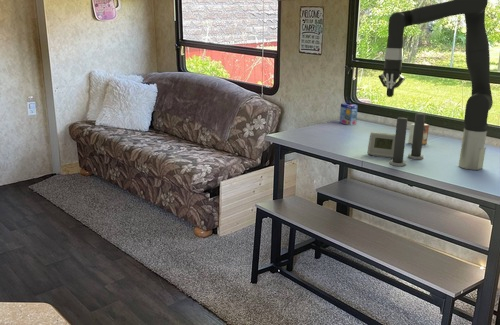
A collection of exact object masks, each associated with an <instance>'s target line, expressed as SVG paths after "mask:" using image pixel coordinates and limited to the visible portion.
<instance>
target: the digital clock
mask: <svg viewBox="0 0 500 325" xmlns="http://www.w3.org/2000/svg"><path fill="white" fill-rule="evenodd" d="M395 135H396V134H391V133H384V132H375V131H374V132H370V134H369V138H368V145H367V155H371V156H374V157H380V158H381V157H382V158H388V159H393V154H394V144H395Z"/></svg>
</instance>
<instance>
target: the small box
mask: <svg viewBox="0 0 500 325" xmlns="http://www.w3.org/2000/svg"><path fill="white" fill-rule="evenodd" d="M414 124H415V123H410V125H409V135H408V140H407V142H408V144H411V145H412V142H413V133H414ZM429 130H430V124H427V123H424V132H423V141H422V145H428V137H429V136H428V135H429Z"/></svg>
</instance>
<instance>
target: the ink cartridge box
mask: <svg viewBox="0 0 500 325" xmlns="http://www.w3.org/2000/svg"><path fill="white" fill-rule="evenodd" d="M358 106H359V105H358V104H353V103H352V102H351V101H350V100H345V102H344V103H340V112H339V124H340V123H341V124H344V125H348V126H355V125H358V124H357V122H358Z"/></svg>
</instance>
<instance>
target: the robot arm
mask: <svg viewBox="0 0 500 325" xmlns="http://www.w3.org/2000/svg"><path fill="white" fill-rule="evenodd" d="M488 3H489V2H488V0H448V1H443V2H439V3H433V4H428V5H424V6H419V7H414V8H413V9H409V10H404V11H397V12H394V13H392V14H391V15H390V17H389V18H388V28H387V29H388V30H387V32H388V33H387V34H388V35H387V36H388V37H387V40H386V49H385V54H384V65H383V68H384V70H383V71H382V73H381V74H380V75H378V78H379V80H380V82H381V84H382V86H383V87H385V88H386V96H387V97H388V98H392V97H393V96H394V95H395V94H394V93H395V89H396V88H399V87H400V86H401V85H402V83H403V82H404V81H405V80H406V77H405V76H403V75H402V71H401V70H402V65H403V64H402V63H403V57H404V56H403V54H404V51H403V50H404V49H403V48H404V42H405V41H404V40H405V38H404V34H405V33H404V32H405V28H407V27H410V26H414V25H422V24H425V23H426V24H427V23H430V22H435V21H437V20H441V19H444V18H448V17H453V16H457V15H458V16H461V15H463V16H464V20H465V28H466V29H465V30H466V31H465V32H466V33H465V64H466V69H467V71H468V75H469V78H470V81H471V82H470V83H471V96H469V98H468V99H467V100H466V104H465V109H464V111H465V112H464V119H463V120H464V121H463V123H464V124H463V125H464V127H463V133H462V141H461V148H460V153H459V160H458V161H459V162H458V167H459V168H461V169H466V170H471V171H472V170H473V171H478V170H480V169H483V167H484V160H485V155H486V149H487V147H485V145H486V139H487V133H488V116H489V111H490V110H491V109H492V107H493V103H494V102H493V101H494V100H493V95H492V88H491V84H490V83H491V81H490V73H491V72H490V71H491V70H490V69H491V67H490V66H491V65H490V63H491V62H490V45H489V40H488V39H489V38H488V33H487V31H486V26H485V25H486V22H485V21H486V20H485V19H486V18H485V17H486V9H487V6H488Z"/></svg>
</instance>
